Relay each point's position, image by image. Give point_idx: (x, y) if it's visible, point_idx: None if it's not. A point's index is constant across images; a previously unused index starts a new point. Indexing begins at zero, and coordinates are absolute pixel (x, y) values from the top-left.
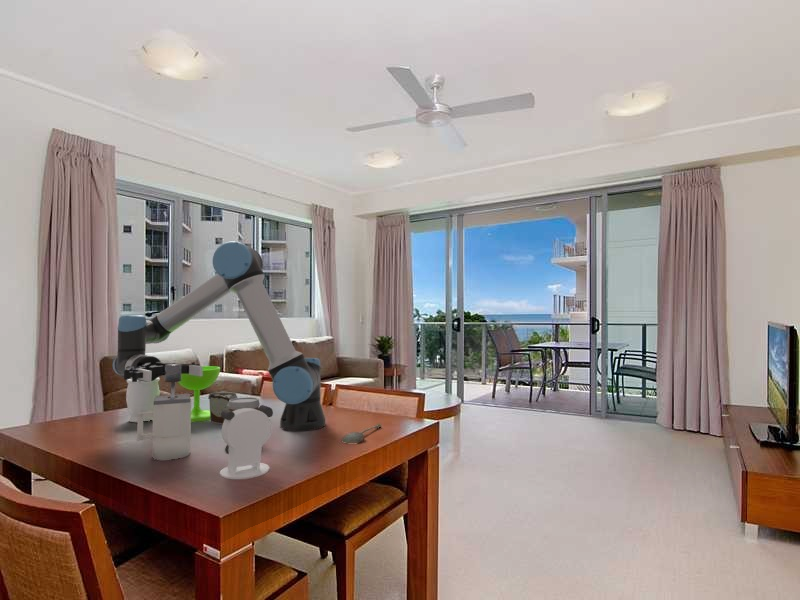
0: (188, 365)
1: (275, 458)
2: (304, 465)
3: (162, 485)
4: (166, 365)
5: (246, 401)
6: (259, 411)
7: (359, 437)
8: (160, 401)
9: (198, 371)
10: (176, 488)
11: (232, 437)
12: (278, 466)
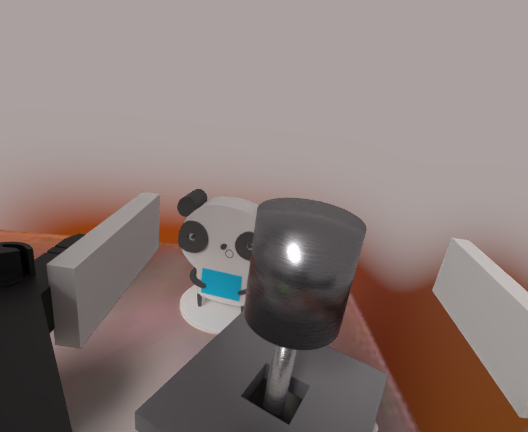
0: (38, 295)
1: (136, 306)
2: (155, 264)
3: (357, 354)
4: (360, 222)
5: None
6: (217, 197)
7: None
8: (357, 364)
9: (151, 231)
10: (342, 329)
11: None
12: (177, 283)
